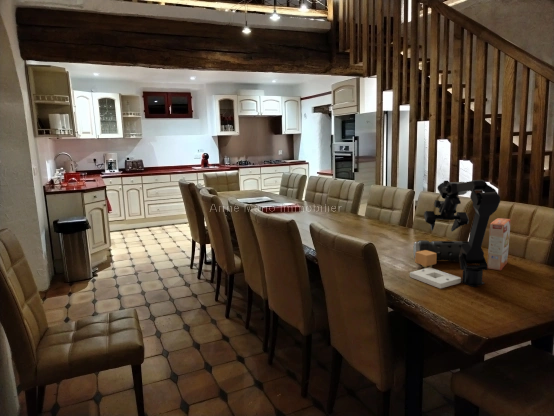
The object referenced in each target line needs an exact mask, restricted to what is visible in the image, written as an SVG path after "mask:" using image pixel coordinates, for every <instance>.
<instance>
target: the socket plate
mask: <svg viewBox="0 0 554 416" xmlns="http://www.w3.org/2000/svg"><path fill="white" fill-rule="evenodd" d="M409 278H412V279H415V280H417V281H420V282H422V283H425V284H427V285H430V286H432V287H435V288H437V289H444V288H447V287H450V286H455V285H458V284H460V283H461V281H462V277H460V276H458V275H454V274H451V273H448V272H445V271H441V270H439V269H437V268H433V267H432V268H430V267H429V266H428V267H427V268H425V269H424V268H422V269H418V270H414V271H409Z"/></svg>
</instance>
